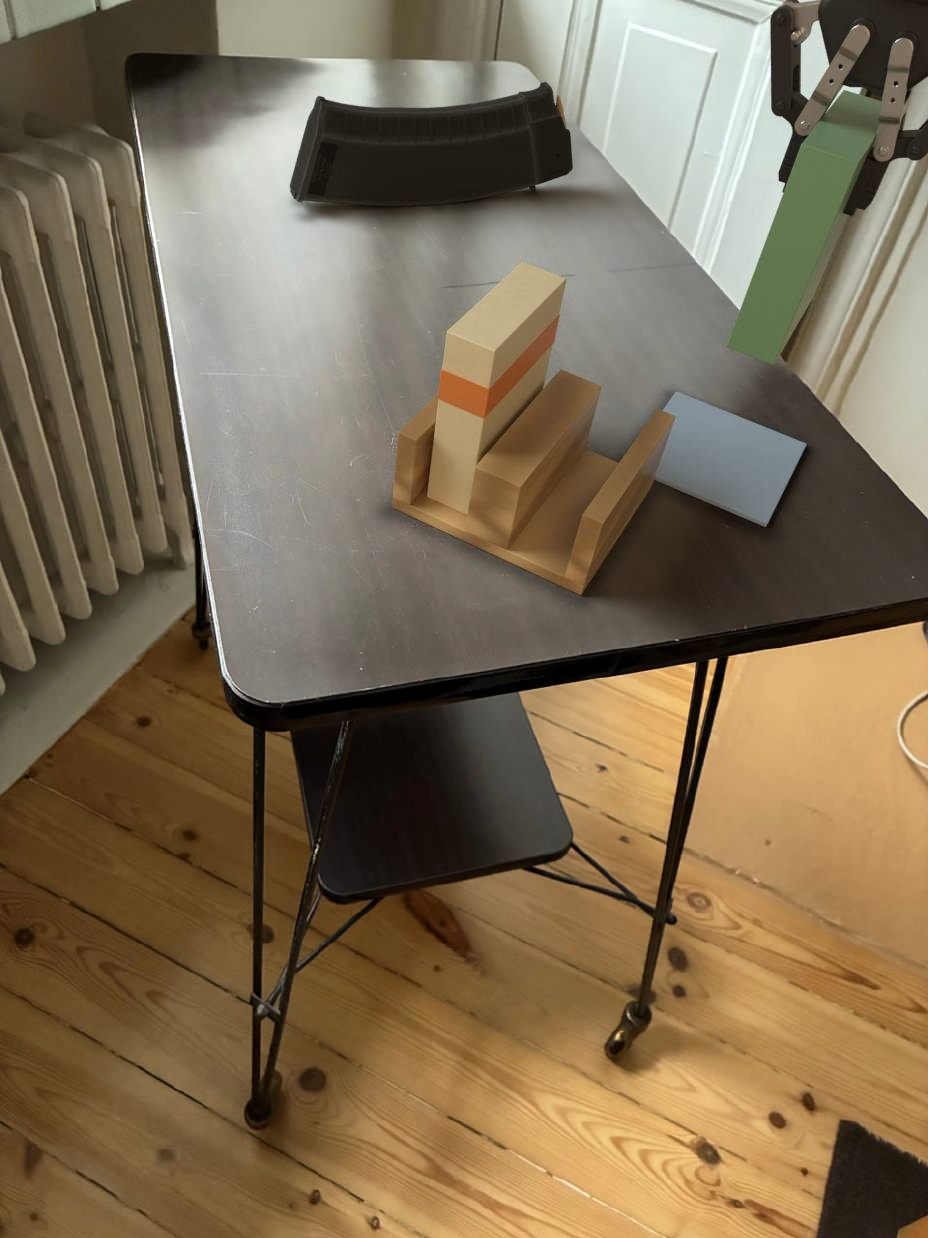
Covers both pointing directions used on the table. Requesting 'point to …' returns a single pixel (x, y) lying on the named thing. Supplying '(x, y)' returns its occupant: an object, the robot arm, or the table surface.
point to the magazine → (431, 151)
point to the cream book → (491, 375)
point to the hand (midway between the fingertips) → (820, 199)
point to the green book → (805, 227)
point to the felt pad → (727, 459)
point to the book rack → (539, 484)
